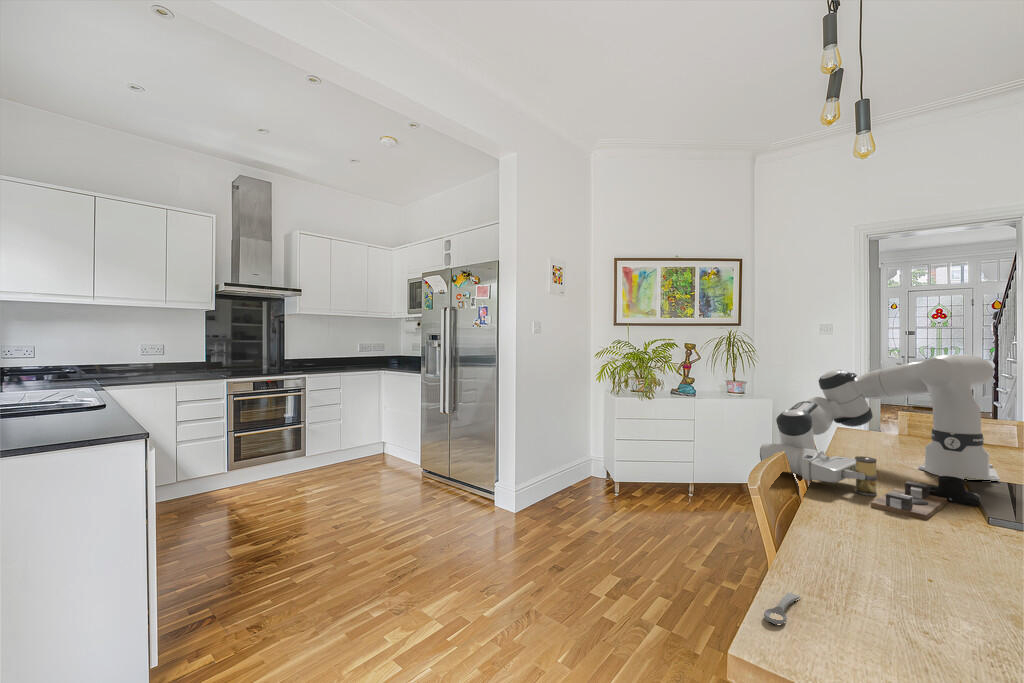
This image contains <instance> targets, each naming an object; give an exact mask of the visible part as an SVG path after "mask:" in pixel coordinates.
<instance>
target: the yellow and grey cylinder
mask: <svg viewBox="0 0 1024 683" xmlns="http://www.w3.org/2000/svg"><path fill="white" fill-rule="evenodd" d="M854 459H855V460H856V472H863V473H866V474H867V478H866V479H865V480H861V479H855V493H856V494H859V495H861V496H866V497H877V496H878V492H877V480H878V475H877V458H875V457H869V456H861V455H860V456H859V455H858V456H855V457H854Z"/></svg>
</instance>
